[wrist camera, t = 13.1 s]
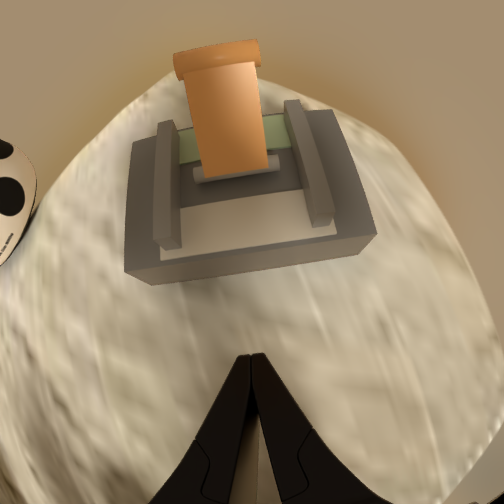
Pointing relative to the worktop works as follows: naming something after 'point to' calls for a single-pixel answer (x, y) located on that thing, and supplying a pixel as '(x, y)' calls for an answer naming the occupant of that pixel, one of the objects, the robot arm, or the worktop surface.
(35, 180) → the milk container
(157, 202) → the grey switch housing
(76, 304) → the worktop surface
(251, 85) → the breaker lever
